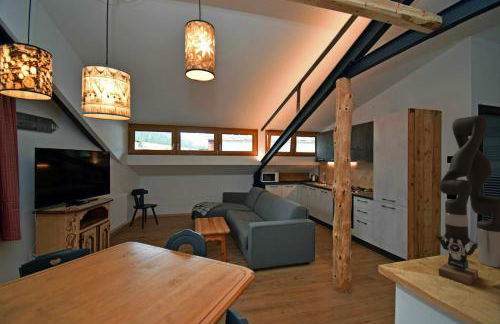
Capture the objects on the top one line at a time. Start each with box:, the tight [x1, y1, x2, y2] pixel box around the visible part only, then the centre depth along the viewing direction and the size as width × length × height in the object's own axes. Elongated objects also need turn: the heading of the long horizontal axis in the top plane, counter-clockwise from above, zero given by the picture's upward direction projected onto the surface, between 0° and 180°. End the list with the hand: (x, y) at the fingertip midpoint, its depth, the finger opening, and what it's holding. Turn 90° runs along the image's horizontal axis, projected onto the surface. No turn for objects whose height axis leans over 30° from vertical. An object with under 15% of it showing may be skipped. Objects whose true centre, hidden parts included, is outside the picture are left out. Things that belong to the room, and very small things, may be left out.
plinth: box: [438, 261, 479, 286], centre depth 96 cm, size 12×10×3 cm
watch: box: [447, 243, 469, 270], centre depth 96 cm, size 6×8×11 cm
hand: (457, 261), depth 96 cm, fingers closed on watch, 3 cm apart
